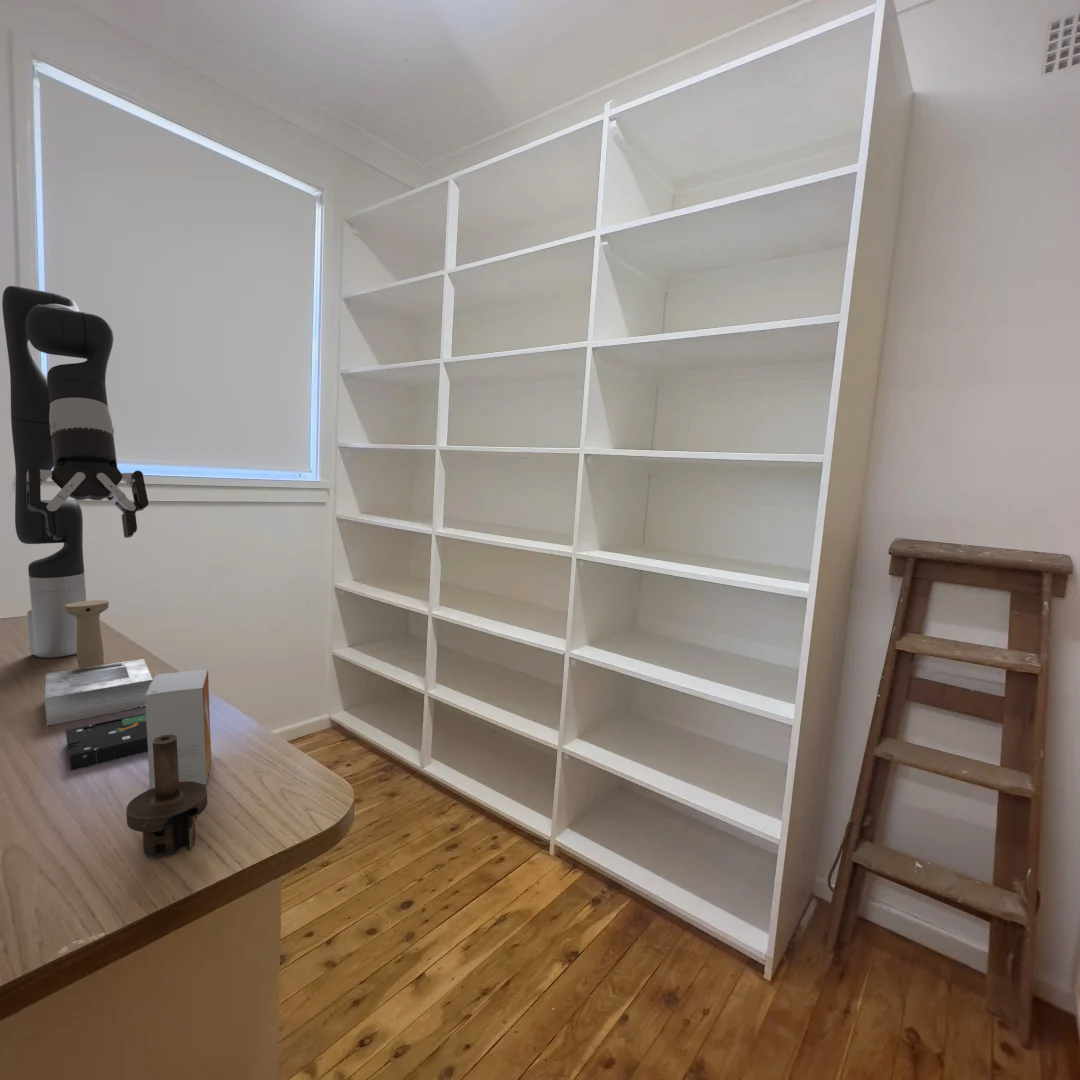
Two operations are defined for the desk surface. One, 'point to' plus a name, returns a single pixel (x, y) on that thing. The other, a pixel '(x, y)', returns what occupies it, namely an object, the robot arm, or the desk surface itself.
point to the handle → (88, 631)
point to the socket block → (95, 691)
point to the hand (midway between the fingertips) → (94, 537)
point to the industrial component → (167, 805)
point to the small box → (181, 721)
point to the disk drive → (106, 741)
